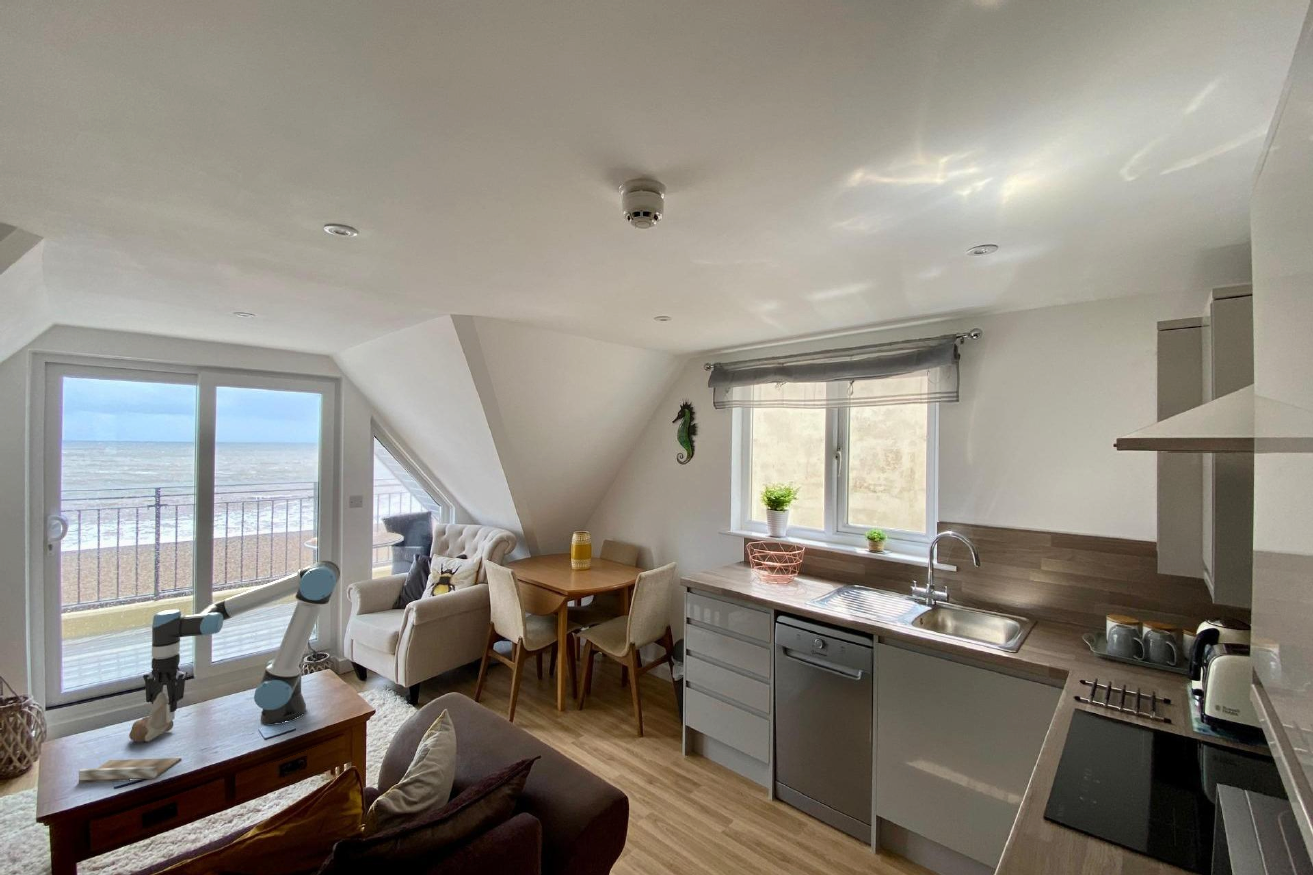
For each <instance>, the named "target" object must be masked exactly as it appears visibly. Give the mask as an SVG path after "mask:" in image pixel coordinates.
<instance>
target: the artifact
mask: <svg viewBox="0 0 1313 875" xmlns="http://www.w3.org/2000/svg"><path fill="white" fill-rule="evenodd" d="M167 703H169V699H168V695H166V692H165V693H164V691H162V692H161V693H159V694H158V696H157V698H156V700H155V701H154V702H153V704H152V706H151V710H150V712H149V714H148V716H147V717H148V721H147V725H146V728H147V729H148V734H147V735H146V736H145V740H146V741H145V742H150V741H152V740H153V739H154V738H157V737H158V736H160V735H159V734H162V733H163V732H164V731H165V729H166V728H167V727H168V725H169V724H170V723H171V721H170V722H169V723H166V707H167ZM162 735H163V734H162Z"/></svg>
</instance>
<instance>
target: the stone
mask: <svg viewBox="0 0 1313 875" xmlns="http://www.w3.org/2000/svg"><path fill="white" fill-rule="evenodd" d="M148 717H149V716H145V717H143V718H142V719H140V720H139V719H138V720H136V721H134V723H133V724H132V726H131V730H130V732H129V735H128V737H129V739H130V740H132V741H136V742H138V743H139V742H147V741H146V740H145V736H146V735H147V734H148V729H147V728H146V725H147V721H148ZM173 720H174V719H173ZM173 720H172V721H171V723H170V724H169V725H168V727H167V728H166V729H165V731H164V732H163V733H162V734H159V735H158V736H161V735H163V734H165V733H166V732H169V731H171V730H172V728H174V721H173Z"/></svg>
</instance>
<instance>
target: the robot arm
mask: <svg viewBox="0 0 1313 875" xmlns="http://www.w3.org/2000/svg"><path fill="white" fill-rule="evenodd" d="M340 577H341V571H340V568H339V566H338V564H336V563H335V562H333V561H331V560H320V561H317V562H315V563H313V564H310V565H308V566H306V567H303V568H301V569H299V570H298V572H297V573H294V574H291V575H289V576H286V577H285V576H284V577H283V578H280V579H278V580H275V581H272V582H269V583H267V584H264V585H261V586H258V587H256V588H253V589H250V590H248V591H246V592H245V591H244V592H243V593H240V594H237V595H234V596H232V597H229V598H225V599H224V600H218V601H217V600H216V601H214V602H212V603H209V604H208V605H207V606H205V607H204V608H203V609H202V610H201V611H200V612H198V613H197V614H196V613H195V614H190V615H189V614H186V615H185V614H183V615H182V612H181V610H179V609H167V610H162V611H159V612H156V613H155V614H154V615H153V618H152V625H151V633H152V634H151V657H152V658H151V666H150V667H151V669H152V670H151V671H149V672H147V673H146V674H143V676H142V678H143V680H144V683H145V684H144V687H145V701H146V703H151V704H152V705H153V702H154V701H155V700H156V698H157V696H158V694H159V693H161V692H164V686H166V691H167V698H168V699H169V703H167V707H166V723H169V722H170V721H172V720H175V719H176V717H175V714H176V713H175V712H176V711H177V709H178V707H177V706H178V702H179V701H181V700H182V699H184V695H185V694H184V693H185V686H186V677H187V676H188V674H189V672H188V671H184V672H183V671H181V670H180V667H179V665H180V662H181V660H180V658H181V654H180V651H181V638H186V637H199V636H209V635H214V634H218V633H220V632H221V631H222V628H223V625H224V622H225V621H226V620H229V619H231V618H234V617H237V616H239V615H242V614H245V613H247V612H251V611H254V610H256V609H258V608H261V607H265V606H266V605H269V604H271V603H273V602H277V601H280V600H282V599H284V598H285V599H286V598H287V597H290V596H294V595H295V600H296V601H297V603H296V606H295V609H294V611H293V614H292V616H291V618H290V620H289V623H288V625H287V628H286V631H285V633H284V635H283V638H282V641H281V642H280V645H279V648H278V649H277V652H276V655H275V658H273V659H271V660H269V661H268V662H267V663H266V667H265V670H264V673H263V675H262V677H261V680H260V683H259V685H258V686H257V688H255V691H254V694H253V695H254V696H253V699H254V703H255V704H256V706H258V707H259V708H261V709H262V711H261V713H260V723H261V724H263V725H267V724H275V723H282V722H285V721H290V720H292V721H294V720H293V719H295V718H297V717H299V716H301V715H302V714H303V715H305V713H306V712H307V704H306V701H305V699H304V696H303V694H302V665H303V662H302V661H303V660H302V659H303V656H304V653H305V650H306V649H307V646H308V643H309V641H310V639H311V636H312V633H313V631H314V628H315V626H316V624H317V621H318V620H319V616H320V614H321V611H322V608H323V607H324V606H325V605H327V604H329V602H330V600H331V597H332V595H333V592H334V590H335V588H336V585H337V583H338V581H339V579H340ZM305 711H306V712H305ZM304 712H305V713H304ZM303 715H302V716H303ZM302 716H301V717H302ZM299 718H300V717H299ZM297 719H298V718H297ZM295 720H296V719H295ZM290 722H291V721H290ZM282 724H283V723H282Z"/></svg>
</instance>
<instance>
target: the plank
mask: <svg viewBox="0 0 1313 875" xmlns="http://www.w3.org/2000/svg"><path fill="white" fill-rule="evenodd" d="M180 761H182V757H171V758H170V757H169V758H167V757H166V758H165V757H163V758H134V759H109V760H108V761H106V762H105V763H103V764H101V765H100V766H99V767H97V768H80V769H79V770H78V783H79V782H82V783H81V784H85V782H86V783H87V782H88V783H99V782H98V781H108V782H123V781H122V780H129V781H131V780H130V779H150V780H156V779H157V778H158V777H159V776H161V775H162V774H164V773H165V772H167V771H168V770H170V769H171V768H172V767H174V766H175V765H176V764H178V763H179V762H180ZM119 780H121V781H119ZM96 781H97V782H96ZM83 782H84V783H83Z"/></svg>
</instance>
